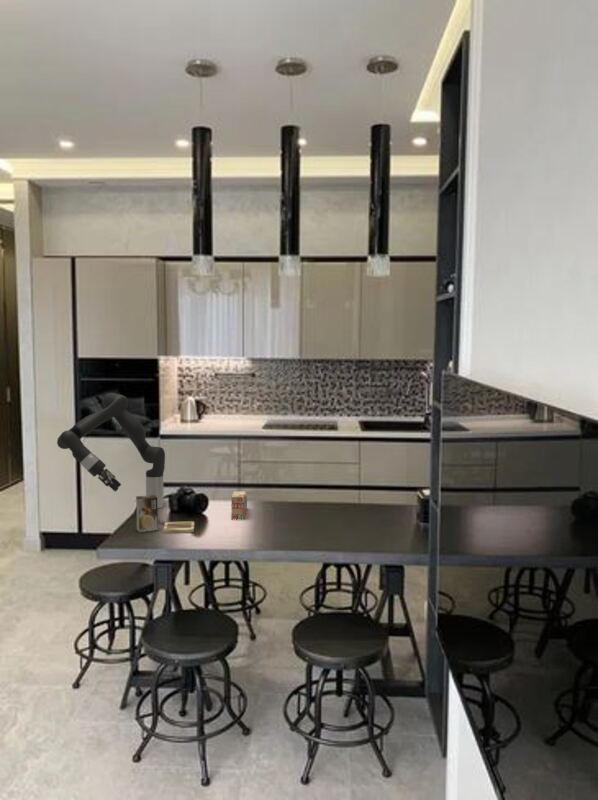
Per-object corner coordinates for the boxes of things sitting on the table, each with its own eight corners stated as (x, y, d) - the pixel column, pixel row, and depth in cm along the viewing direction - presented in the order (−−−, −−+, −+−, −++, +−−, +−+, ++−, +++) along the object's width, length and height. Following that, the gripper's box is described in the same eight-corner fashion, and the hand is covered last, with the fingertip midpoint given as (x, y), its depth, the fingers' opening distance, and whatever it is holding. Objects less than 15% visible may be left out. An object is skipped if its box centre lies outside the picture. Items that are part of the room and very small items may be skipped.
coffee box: (155, 527, 298) (155, 494, 297) (158, 530, 292) (158, 497, 291) (136, 529, 294) (136, 496, 293) (138, 532, 288) (138, 499, 287)
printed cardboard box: (235, 509, 334) (235, 487, 333) (247, 509, 334) (247, 487, 333) (231, 520, 312) (231, 496, 311) (243, 520, 312) (243, 496, 311)
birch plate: (165, 525, 301) (165, 522, 301) (194, 524, 303) (194, 521, 303) (163, 533, 288) (163, 530, 287) (193, 532, 290) (193, 529, 290)
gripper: (96, 461, 280) (122, 485, 283) (101, 456, 294) (126, 479, 297) (84, 473, 280) (110, 497, 282) (89, 467, 294) (114, 490, 296)
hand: (118, 488), depth 290 cm, fingers open, 8 cm apart
